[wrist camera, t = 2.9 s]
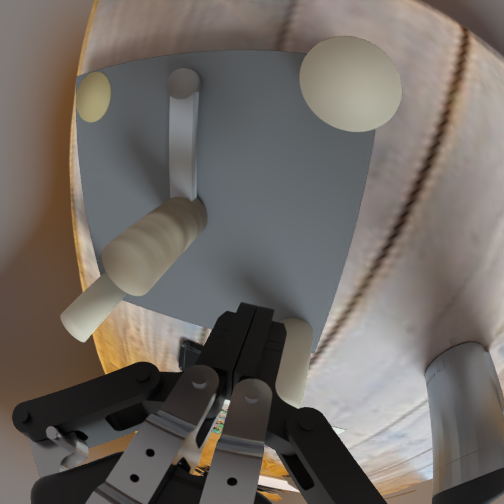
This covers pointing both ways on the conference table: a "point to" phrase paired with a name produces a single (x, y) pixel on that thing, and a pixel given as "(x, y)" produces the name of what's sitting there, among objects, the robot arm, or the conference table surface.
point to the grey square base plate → (238, 181)
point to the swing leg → (170, 212)
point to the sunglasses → (202, 472)
